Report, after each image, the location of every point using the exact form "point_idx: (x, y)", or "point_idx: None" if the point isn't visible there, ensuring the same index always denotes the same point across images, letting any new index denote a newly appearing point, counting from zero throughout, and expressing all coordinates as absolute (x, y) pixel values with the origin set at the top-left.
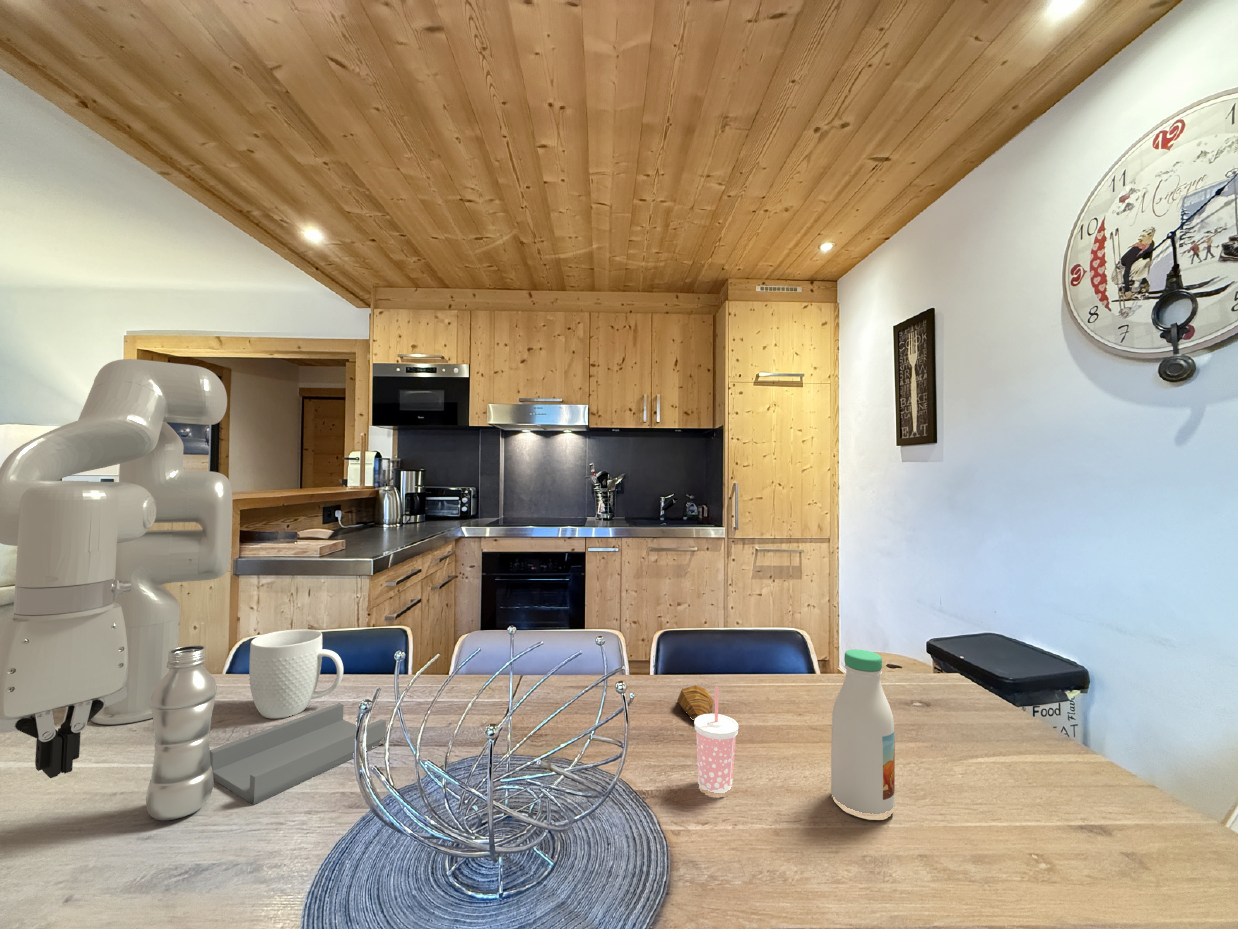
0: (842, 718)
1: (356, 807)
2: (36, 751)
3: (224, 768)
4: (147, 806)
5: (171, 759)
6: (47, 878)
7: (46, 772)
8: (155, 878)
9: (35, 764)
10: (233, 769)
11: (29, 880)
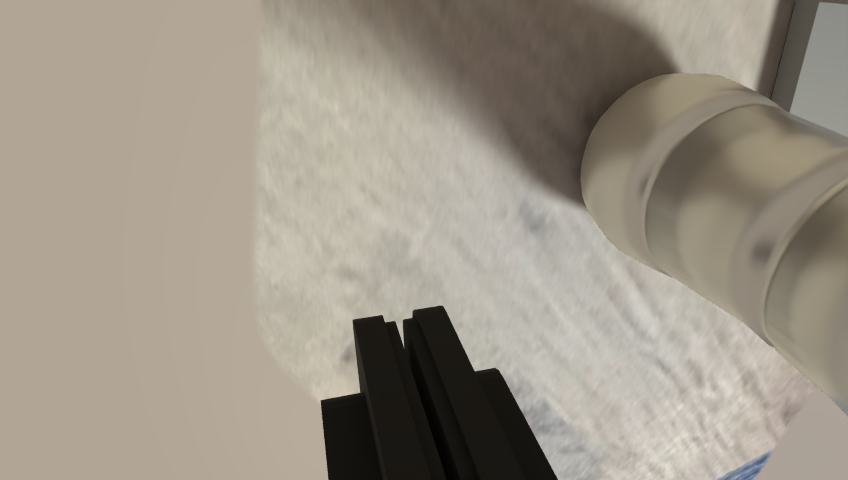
0: None
1: (787, 422)
2: (329, 475)
3: (844, 19)
4: (590, 170)
5: (727, 311)
6: (329, 233)
7: (360, 389)
8: None
9: (321, 402)
10: (845, 57)
11: (295, 208)
